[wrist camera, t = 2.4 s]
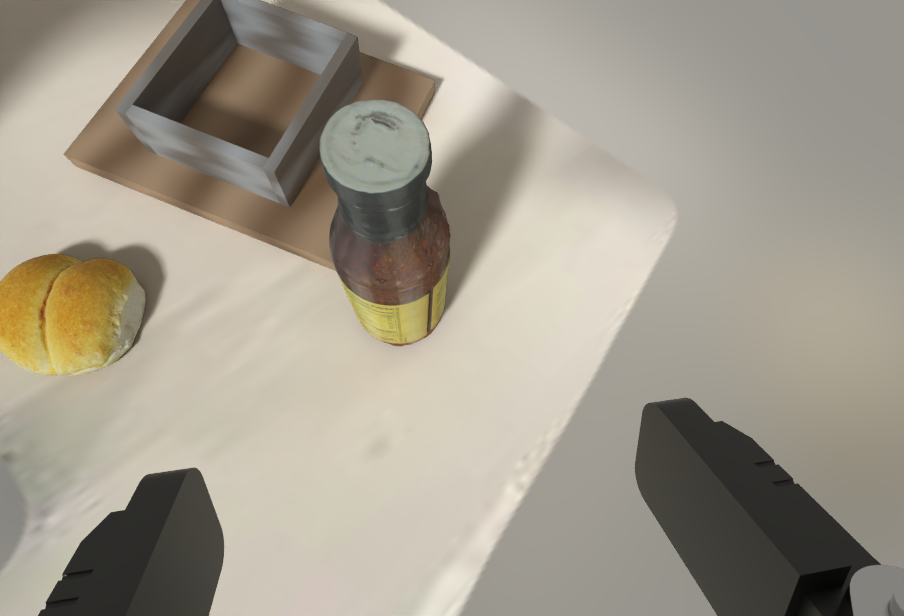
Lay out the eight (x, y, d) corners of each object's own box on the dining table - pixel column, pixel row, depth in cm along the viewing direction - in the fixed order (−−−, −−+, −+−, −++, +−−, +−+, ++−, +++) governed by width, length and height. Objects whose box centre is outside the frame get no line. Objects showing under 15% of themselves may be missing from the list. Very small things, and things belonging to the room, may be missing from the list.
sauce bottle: (406, 253, 38) (402, 36, 20) (460, 315, 37) (510, 145, 18) (335, 304, 37) (255, 120, 18) (389, 371, 35) (364, 246, 17)
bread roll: (32, 258, 36) (-12, 232, 33) (160, 271, 37) (131, 247, 33) (-12, 371, 34) (-66, 357, 30) (126, 385, 34) (91, 372, 30)
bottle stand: (76, 166, 39) (18, 112, 33) (201, 5, 45) (170, -64, 39) (341, 272, 37) (328, 235, 32) (434, 93, 43) (437, 35, 38)
